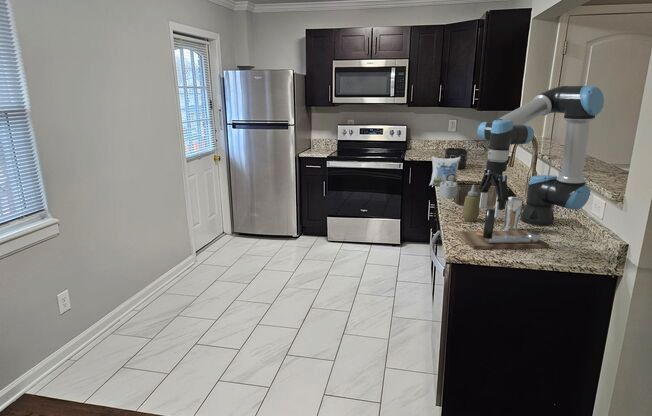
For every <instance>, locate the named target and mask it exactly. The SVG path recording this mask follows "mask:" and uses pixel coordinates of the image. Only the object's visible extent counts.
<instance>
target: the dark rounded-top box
mask: <svg viewBox="0 0 652 416" xmlns="http://www.w3.org/2000/svg"><path fill="white" fill-rule="evenodd" d="M444 152H445V153H444V159H450V158H458V157H461V158H460V161H459V164H458V169H457V171H459V170H465V168H467V161H468V154H469V153H468V150H467V149H466V148H462V147H459V148H458V147H456V148H455V147H448V148H446V149H445V151H444Z"/></svg>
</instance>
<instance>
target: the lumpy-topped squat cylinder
mask: <svg viewBox="0 0 652 416" xmlns="http://www.w3.org/2000/svg"><path fill="white" fill-rule="evenodd" d="M458 186H459V185H458V182H457V183H456V182H453V181H444V182H443V181H442V182H441V183H440V184H439V192H438V196H439V197H440V198H443V199H454V198H457V196H458V188H459V187H458Z"/></svg>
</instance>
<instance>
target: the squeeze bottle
mask: <svg viewBox="0 0 652 416" xmlns="http://www.w3.org/2000/svg"><path fill="white" fill-rule="evenodd" d="M480 198H481V197H479V192H478V191H477V188H476V184H472V186H471V189H470V190H469V191H468V192H467V195H466V196H465V199H464V203H463V207H462V217H463V220H464V221H466V222H472V223H473V222H477V220H478V218H479V215H480V208H479V206H480Z"/></svg>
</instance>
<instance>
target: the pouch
mask: <svg viewBox="0 0 652 416" xmlns="http://www.w3.org/2000/svg"><path fill="white" fill-rule="evenodd" d="M431 158H432V174H431V180H430V183H429V185H428V186H434V185H440V183H441V182H442V181H443V182H444V181H453V182H456V183H457V184H458V179H457V178H458V170H457V169H458V164H459V161H460V158H461V157H458V158H450V159H445V158H443V157H440V158H439V157H436V156H431Z"/></svg>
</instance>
